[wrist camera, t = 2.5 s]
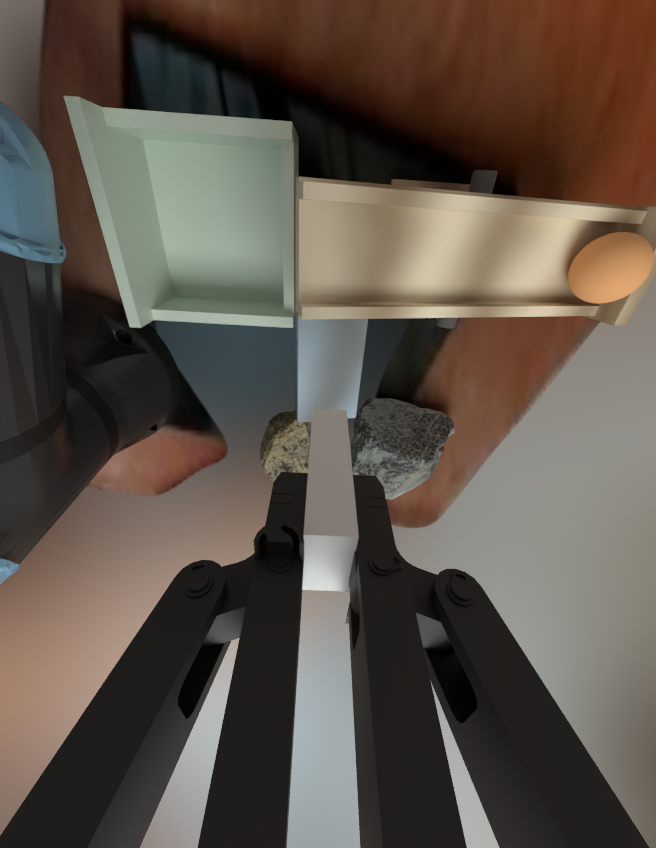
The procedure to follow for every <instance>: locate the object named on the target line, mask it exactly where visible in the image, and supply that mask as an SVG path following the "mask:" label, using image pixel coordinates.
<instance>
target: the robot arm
mask: <svg viewBox="0 0 656 848" xmlns="http://www.w3.org/2000/svg"><path fill="white" fill-rule="evenodd" d="M65 258H66V248H65V245H64V244H63V242H62V241H61V239H60V235H59V226H58V217H57V208H56V198H55V189H54V180H53V173H52V169H51V164H50V162H49V159H48V157H47V154H46V152H45V150H44V149H43V147H42V145H41V143H40V142H39V140H38V139H37V138H36V136H35V135H34V133H33V132H32V131H31V130H30V128H29V127H28V126H27V125H26V124H25V123H24V122H23V121H22V120H21V119H20V118H19V117H18V116H17V115H16V114H15V113H14V112H13V111H11V110H10V109H9V108H8V107H7V106H6V105H4V104H3V103H2V102H0V584H1V583H2V582H3V581H4V580H5V579H6V578H7V577H8V576H10V575H11V574H13V573H15V572H16V570H17V569H18V568H19V567H20V565H19V564H20V563H21V562H22V560H23V559H24V558H25V557H26V556H27V555H28V553H29V552H30V551H31V550H32V549H33V548H34V546H35V545H36V544H37V543H38V542H39V540H40V539H41V538H42V537H43V536H44V535H45V534H46V533H47V531H48V530H49V529H50V528H51V527H52V526H53V524H54V523H55V522H56V521H57V520H58V518H59V517H60V516H61V515H62V514H63V513H64V512H65V510H66V509H67V508H68V507H69V506H70V505H71V503H72V502H73V501H74V500H75V499H76V497H77V496H78V495H79V494H80V493H81V492H82V491H83V489H84V488H85V487H86V486H87V485H88V484H89V482H90V481H91V480H92V479H93V478H94V477H95V476H96V474H97V473H98V472H99V471H100V470H101V469H102V467H103V466H104V465H105V464H106V463H107V462H108V460H109V459H110V458H111V457H112V456H113V455H114V454H116V453H118V452H120V451H122V450H124V449H126V448H128V447H130V446H132V445H134V444H135V443H137V442H139V441H141V440H143V439H145V438H147V437H149V436H151V435H152V434H154V433H155V432H157V431H158V430H159V429H160V428H161V427H162V426H163V425H164V424H165V423H166V421H167V420H168V419H169V418H170V416H171V415H172V414H173V412H174V411H175V409H176V407H177V405H178V402H179V399H180V392H181V383H180V376H179V372H178V369H177V366H176V363H175V361H174V359H173V357H172V355H171V353H170V351H169V349H168V348H167V346H166V345H165V343H164V342H163V341H162V339H161V338H160V337H159V336H158V335H157V334H156V332H155V331H154V330H153V329H152V328H151V327H150V326H149V325H147V324H146V325H145V326H143V327H142V328H133V327H130V326H129V323H128V319H127V316H126V312H125V309H124V307H122V306H120V305H118V304H116V303H114V302H112V301H110V300H107V299H104V298H101V297H98V296H95V295H90V294H85V293H77V292H65V293H62V278H61V263H62V262H64V259H65ZM254 550H255V553H254V554H253V555H252V556H250V557H249V558H247V559H246V560H243V561H241V562H238V563H235V564H231V565H227V566H223V567H221V566H220V565H219V564H218V563H216V562H214V561H210V560H201V561H197V562H193V563H191V564H189V565H188V566H186V567H185V568H183V569H182V570H181V571H180V572H179V573H178V574H177V575H176V577H175V578H174V579H173V581H172V582H171V584H170V585H169V587H168V588H167V590H166V591H165V593H164V594H163V596H162V597H161V599H160V600H159V602H158V603H157V605H156V606H155V608H154V609H153V611H152V612H151V614H150V615H149V617H148V618H147V620H146V621H145V622H144V624H143V625H142V627H141V628H140V630H139V631H138V633H137V634H136V636H135V637H134V639H133V640H132V642H131V643H130V645H129V646H128V648H127V649H126V651H125V652H124V653H123V655H122V656H121V658H120V660H119V661H118V663H117V664H116V665H115V667H114V668H113V670H112V671H111V673H110V674H109V676H108V677H107V679H106V680H105V682H104V683H103V685H102V686H101V688H100V689H99V690H98V692H97V693H96V695H95V696H94V698H93V699H92V701H91V703H90V704H89V705H88V707H87V708H86V710H85V711H84V713H83V714H82V716H81V717H80V719H79V720H78V722H77V723H76V725H75V726H74V728H73V729H72V731H71V732H70V734H69V735H68V736H67V738H66V739H65V741H64V742H63V744H62V745H61V747H60V748H59V750H58V751H57V753H56V754H55V756H54V757H53V759H52V760H51V762H50V763H49V764H48V766H47V767H46V769H45V770H44V772H43V773H42V775H41V776H40V778H39V779H38V781H37V782H36V784H35V785H34V787H33V788H32V790H31V791H30V793H29V794H28V796H27V797H26V799H25V800H24V801H23V803H22V804H21V806H20V808H19V809H18V810H17V812H16V813H15V815H14V816H13V818H12V819H11V821H10V822H9V824H8V825H7V827H6V828H5V830H4V831H3V833H2V834H1V836H0V848H140V845H141V843H142V841H143V838H144V836H145V834H146V832H147V830H148V828H149V825H150V823H151V821H152V819H153V816H154V814H155V812H156V809H157V807H158V805H159V803H160V800H161V798H162V796H163V794H164V791H165V789H166V787H167V785H168V782H169V780H170V778H171V775H172V773H173V771H174V769H175V767H176V764H177V762H178V760H179V757H180V755H181V753H182V751H183V748H184V746H185V744H186V742H187V739H188V737H189V735H190V732H191V730H192V728H193V726H194V724H195V721H196V719H197V717H198V715H199V712H200V710H201V708H202V705H203V703H204V701H205V699H206V696H207V694H208V692H209V690H210V687H211V685H212V683H213V681H214V678H215V676H216V674H217V672H218V669H219V667H220V665H221V663H222V660H223V658H224V656H225V653H226V651H227V649H228V647H229V644H230V642H231V640H234V639H237V638H240V639H239V644H238V649H237V654H236V659H235V664H234V669H233V674H232V680H231V684H230V689H229V694H228V699H227V704H226V709H225V714H224V719H223V724H222V729H221V734H220V739H219V744H218V749H217V754H216V760H215V764H214V769H213V774H212V779H211V784H210V789H209V794H208V799H207V804H206V809H205V814H204V820H203V824H202V829H201V834H200V839H199V844H198V848H286V847H287V831H288V814H289V798H290V782H291V766H292V749H293V733H294V717H295V701H296V684H297V668H298V651H299V636H300V619H301V601H302V590H325V591H348V589H349V587H350V604H349V608H348V613H347V619H346V623H349V629H350V630H349V631H350V650H351V670H352V689H353V708H354V729H355V749H356V768H357V788H358V807H359V826H360V846H361V848H467V847H466V843H465V838H464V834H463V829H462V824H461V820H460V815H459V810H458V806H457V802H456V797H455V792H454V787H453V783H452V778H451V774H450V769H449V765H448V760H447V755H446V750H445V746H444V741H443V737H442V732H441V728H440V723H439V718H438V713H437V709H436V704H435V700H434V695H433V691H432V687H431V682H432V685H433V687H434V689H435V692H436V695H437V697H438V699H439V702H440V704H441V707H442V709H443V711H444V714H445V716H446V719H447V721H448V724H449V726H450V728H451V731H452V733H453V735H454V738H455V741H456V743H457V745H458V747H459V750H460V753H461V755H462V757H463V760H464V762H465V765H466V767H467V770H468V772H469V775H470V777H471V779H472V782H473V784H474V787H475V789H476V791H477V794H478V796H479V798H480V801H481V803H482V806H483V808H484V811H485V813H486V815H487V818H488V820H489V823H490V825H491V828H492V830H493V833H494V835H495V838H496V840H497V842H498V845H499V847H500V848H649V847H648V845H647V843H646V842H645V840H644V839H643V837H642V836H641V834H640V832H639V831H638V829H637V828H636V826H635V825H634V823H633V822H632V820H631V818H630V817H629V815H628V814H627V812H626V811H625V809H624V808H623V806H622V804H621V803H620V801H619V800H618V798H617V797H616V795H615V794H614V792H613V791H612V789H611V787H610V786H609V784H608V783H607V781H606V780H605V778H604V776H603V775H602V774H601V772H600V770H599V769H598V767H597V766H596V764H595V762H594V761H593V759H592V758H591V756H590V755H589V753H588V752H587V750H586V748H585V747H584V745H583V744H582V742H581V741H580V739H579V738H578V736H577V735H576V733H575V732H574V730H573V729H572V727H571V725H570V724H569V722H568V721H567V719H566V717H565V716H564V714H563V713H562V711H561V710H560V708H559V707H558V705H557V703H556V702H555V700H554V699H553V697H552V696H551V694H550V693H549V691H548V689H547V688H546V686H545V685H544V683H543V682H542V680H541V679H540V677H539V676H538V674H537V672H536V671H535V669H534V668H533V666H532V665H531V663H530V661H529V660H528V658H527V657H526V655H525V654H524V652H523V651H522V649H521V648H520V646H519V645H518V643H517V641H516V640H515V638H514V637H513V635H512V634H511V632H510V631H509V629H508V627H507V626H506V624H505V623H504V621H503V620H502V618H501V617H500V615H499V613H498V612H497V610H496V609H495V607H494V606H493V604H492V602H491V601H490V599H489V598H488V596H487V595H486V593H485V592H484V590H483V589H482V587H481V586H480V585H479V584H478V582H477V581H476V580H475V579H474V578H473V577H471V576H470V575H468V574H467V573H465V572H463V571H460V570H457V569H446V570H443V571H441V572H440V573H439V574H438V575H436V574H433V573H430V572H427V571H424V570H422V569H419V568H417V567H415V566H412V565H411V564H409V563H408V562H406V560H405V559H404V558H403V557H402V556H401V555H400V554H399V552H398V550H397V548H396V545H395V541H394V536H393V531H392V526H391V521H390V516H389V512H388V509H387V502H386V497H385V492H384V487H383V485H382V483H381V482H380V481H379V479H378V478H377V477H376V476H371V475H353V472H352V462H351V452H350V441H349V431H348V421H347V410H330V409H312V423H311V437H310V451H309V465H308V473H296V472H281V473H280V474H279V476H278V477H277V478H276V479H275V481H274V484H273V489H272V495H271V499H270V505H269V509H268V515H267V520H266V525H265V526H264V527H263V528H262V529H261V530H260V531H259V532H258V533H257V535H256V537H255V539H254ZM430 680H431V682H430Z"/></svg>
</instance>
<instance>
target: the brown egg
mask: <svg viewBox="0 0 656 848" xmlns="http://www.w3.org/2000/svg"><path fill="white" fill-rule="evenodd" d="M653 261H654V254H653V249H652V247H651V245H650V243H649V242H648V241H647V240H646V239H645V238H643V237H642V236H640V235H638V234H635V233H630V232H616V233H610V234H607V235H604V236H602V237H599V238H597V239H595V240H594V241H592V242H590V243H589V244H588V245H586V246H585V247H584V248H583V249H582V250H581V251H580V252H579V253H578V254H577V255H576V257H575V258H574V260H573V262H572V264H571V266H570V269H569V273H568V283H569V286H570V289H571V291H572V292H573V293H574V294H575V295H576V296H577V297H578V298H580V299H581V300H583V301H586V302H589V303H598V304H600V303H608V302H613V301H616V300H619V299H621V298H623V297H625V296H627V295H629V294H631V293H632V292H633V291H635V290H636V289H637V288H638V287H639V286H640V285H641V284H642V283H643V282H644V281H645V280H646V278H647V277H648V275H649V273H650V271H651V269H652V266H653Z"/></svg>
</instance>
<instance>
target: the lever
mask: <svg viewBox="0 0 656 848" xmlns="http://www.w3.org/2000/svg"><path fill="white" fill-rule="evenodd" d="M497 173H498V171H494V170H474V171H473V174H472V179H471V183H470V187H469V191H468V192H464V191H453V190H442V189H431V188H420V187H409V186H398V185H387V184H376V183H365V182H353V181H342V180H331V179H320V178H309V177H297V178H296V419H297V422H298V423H302V422H312V409H330V410H347V418H356V412H357V404H358V396H359V387H360V380H361V371H362V364H363V355H364V347H365V339H366V331H367V323H368V319H381V318H383V319H385V318H438V319H437V323H436V325H437V326H439V327H443V328H454V327H455V325H456V321H457V318H460V317H536V316H585V317H589V318H592V319H595V320H598V321H601V322H604V323H608V324H610V325H626V324H627V322H628V320H629V319H630V317H631V315H632V313H633V312H634V310H635V308H636V307H637V305H638V303H639V301H640V299H641V298H642V296H643V294H644V293H645V291H646V289H647V287H648V285H649V283H650V282H651V280H652V279H653V277H654V275H655V273H656V207H631V206H620V205H608V204H597V203H586V202H575V201H564V200H553V199H542V198H531V197H520V196H509V195H498V194H492V191H493V188H494V184H495V180H496V177H497ZM616 232H630V233H635V234H638V235H640V236H642V237H643V238H645V239H646V240H647V241H648V242H649V243H650V245H651V247H652V249H653V254H654V261H653V266H652V269H651V271H650V273H649V275H648V277H647V278H646V280H645V281H644V282H643V283H642V284H641V285H640V286H639V287H638V288H637V289H636V290H635V291H633V292H632V293H631V294H629V295H627V296H625V297H623V298H621V299H619V300H616V301H613V302H608V303H600V304H598V303H589V302H586V301H583V300H581V299H580V298H578V297H577V296H576V295H575V294H574V293H573V292H572V291H571V289H570V286H569V283H568V273H569V269H570V266H571V264H572V262H573V260H574V258H575V257H576V255H577V254H578V253H579V252H580V251H581V250H582V249H583V248H584V247H585V246H586V245H588V244H589V243H590V242H592V241H594V240H595V239H597V238H599V237H602V236H604V235H607V234H610V233H616Z"/></svg>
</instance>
